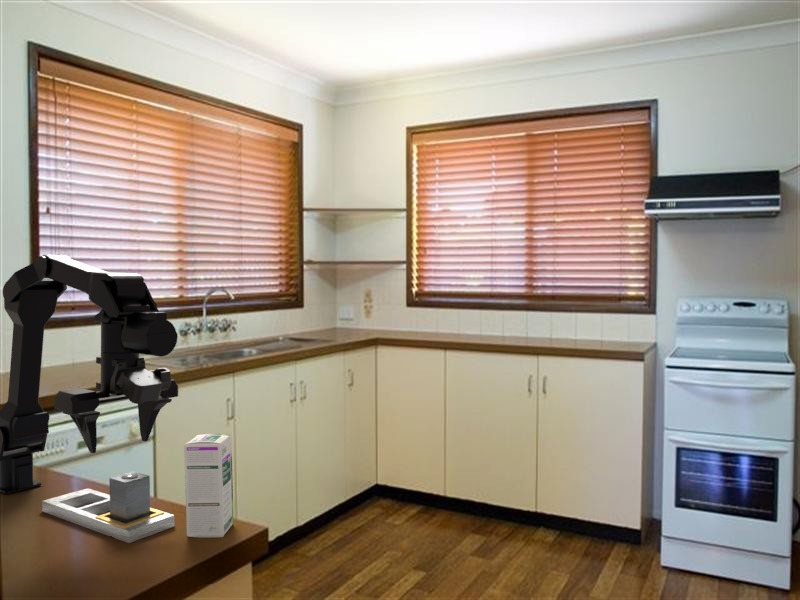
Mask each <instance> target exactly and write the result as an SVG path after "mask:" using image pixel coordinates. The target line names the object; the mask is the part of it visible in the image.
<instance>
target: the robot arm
mask: <svg viewBox="0 0 800 600" xmlns="http://www.w3.org/2000/svg"><path fill="white" fill-rule="evenodd" d="M68 287H70V288H73V289H76V290H78V291H81V292H82V293H85V294H87V295H88V300H89V302H90V303H92V304H94V305H95V306H97V307H98V308H99V309H101V310H100V311H99V312H98V313H96V314H95V315H94V317H93V318H92V320H93V322H94V323H95V322H97V323H100V356H95V364H98V365H100V381H97V382H95V389H97V390H99V391H95V390H90V389H86V388H81V387H78V388H72V389H71V388H70V389H64V390H63V389H62V390H59V391H58V392H57V393H56V395H55V396H54V398H53V401H54V402H53V408H54V410H57V411H60V412H62V414H64V415H68V416H70V418H71V419H72V421H73V423H74V424H75V425H76V427H77V429H78V431H79V433H80V435H81V437H82V439H83V441H84V443H85V445H86V447H87V449H88V452H89V453H90V454H95V453H96V452H97V446H98V445H97V444H98V443H97V441H98V440H97V439H98V438H97V420H98V419H99V416H101V412H100V411H97V410H96V409H98V407H99V405H100V404H103V403H107V402H108V403H109V402H115V401H121V400H129V402H131V403H132V404H136V405H137V410H138V412H137V413H138V423H139V432H140V438H141V441H142V442H148V441H149V438H150V436H151V433H152V430H153V429H154V428H153V427H154V425H155V422H156V419H157V417H158V414H159V413H160V411H161V410H162V409H163V407H165V406H166V405H167V404H169V403H172V400H173V398H177V397H179V385H178V383H177V381H176V380H175V379H172V374H171V373H172V372H171V370H170V369H169V368H167V367H160V368H156V369H151V370H148V369H147V368H146V361H145V357H143V356H140V355H147V356H152V357H153V356H154V357H166V356H168V355H170V354H171V353H172V352H173V351H174V349H175V347H176V346H177V342H178V332H177V329H176V327H175V326H174V324H173V323H172V322H171V321H169V319H167V318H168V316H167V315H168V314H167V312H166V311H159V309H158V307H157V306H158V304H157V303H156V302H155V300H154V298H153V296H152V294H151V291H150V290H149V287H148V286H147V283H145V278H144V277H143V276H142V275H141V274H139V273H134V272H133V273H132V272H118V271H117V272H115V271H105V270H104V269H100V268H97V267H95V266H91V265H89V264H86V263H83V262H81V261H78V260H75V259H72V258H71V257H70V256H67V255H63V254H62V255H61V254H43V255H40V256H38V257H37V258H36V259H35V260H34V261H33V262H32V263H30V264H28V265H26V266H23V267H22V268H20V269H19V270H16V271H15V272H13V274H11V276H10V277H9V278H8V280H7V281H5V283H4V284H3V288H2V296H3V303H4V304H3V305H4V307H3V308H4V310H5V312H6V313H7V316H8V317H9V318H10V320H11V322H12V324H13V325H12V328H13V329H12V341H11V355H10V364H9V365H10V368H9V379H8V380H9V381H8V382H9V383H8V394H7V395H8V397H7V401H6V403H5V404H4V405H3V407H2V408H1V409H0V493H2V494H5V495H8V494H13V493H16V492H20V491H24V490H29V489H32V488H36V487H39V486H42V485H43V484H42V481H38V480H35V479H34V453H39V452H44V451H45V448H46V444H47V443H46V442H47V438H48V435H49V433H50V430H49V422H50V417H51V416H50V414H49V412H47V411H45V410H44V408H43V406H42V405H41V404H40V401H39V399H40V385H41V375H42V374H41V373H42V362H43V361H42V360H43V348H44V336H45V326H46V324H47V323H48V322H49V321H50V319H51V318H52V316H53V315H54V313H55V312H56V308H57V304H58V299H59V298H60V297H61V296H62V295H63V294H64V293H65V291H67V289H68Z"/></svg>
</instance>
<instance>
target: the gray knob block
mask: <svg viewBox="0 0 800 600" xmlns="http://www.w3.org/2000/svg"><path fill="white" fill-rule="evenodd" d="M108 479H109V480H108V482H109V495H110V511H109V512H110V519H113V520H116V521H119V522H122V523H128V522H131V521H134V520H137V519H140V518H143V517H146V516H149V515H150V508H151V491H150V489H151V482H150V481H151V477H150V475H148V474H145V473H141V472H137V471H129V472H126V473H123V474H118V475H116V476H112V477H109V478H108Z"/></svg>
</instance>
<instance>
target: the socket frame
mask: <svg viewBox="0 0 800 600" xmlns="http://www.w3.org/2000/svg"><path fill="white" fill-rule="evenodd" d="M41 506H42V507H41V508H42V512H43V513H46V514H48V515H51V516H54V517H56V518H59V519H62V520H64V521H68V522H70V523H73V524H76V525H79V526H82V527H83V528H87V529H89V530H91V531H95V532H97V533H99V534H103V535H105V536H108V537H110V536H112V537H111V538H113V537H114V539H116V540H119V541H122V542H124V543H127V544H131V543H133V542H136V541H139V540H141V539H142V540H143V538H148V537H150V536H152V535H155V534H158V533H160V532H163V531H166V530H169V529H171V528H174V527H175V515H174V514H172V513H169V512H167V511H163V510H159V509H156V508H152V507H150V515H149V516H146V517H143V518H140V519H137V520H134V521H131V522H128V523H122V522H119V521H116V520H113V519H110V494H107V493H104V492H101V491H99V490H94V489H92V488H89V487H87V488H84V489H80V490H77V491H73V492H72V491H71V492H69V493H66V494H63V495H62V494H61V495H59V496H55V497H51V498H48V499H44V500H42V504H41ZM108 511H109V512H108Z"/></svg>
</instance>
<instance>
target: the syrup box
mask: <svg viewBox="0 0 800 600" xmlns="http://www.w3.org/2000/svg"><path fill="white" fill-rule="evenodd" d="M183 447H184V449H183V450H184V452H183V453H184V479H185V480H184V481H185V483H184V484H185V485H184V486H185V491H184V492H185V517H186V518H185V519H186V520H185V522H186V537H190V538H223V537H224V536H225V534H226V533H227V532H228V531H229V530H230V528H231V527H232V526H233V524H234V523H235V522H234V520H235V519H234V518H235V517H234V489H233V488H234V486H233V485H234V484H233V483H234V482H233V453H232V452H233V451H232V450H233V449H232V448H233V447H232V435H231V434H227V433H203V434H197V435H195V437H194V438H192V439H190V440H188V441H187V442H186V443H184V445H183Z"/></svg>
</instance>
